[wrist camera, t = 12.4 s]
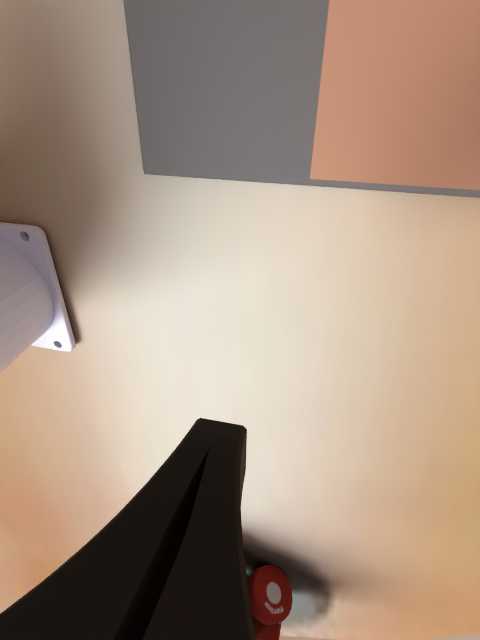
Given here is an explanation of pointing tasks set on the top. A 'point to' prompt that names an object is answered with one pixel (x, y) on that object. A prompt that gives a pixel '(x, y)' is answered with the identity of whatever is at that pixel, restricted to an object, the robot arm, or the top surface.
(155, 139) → the mat
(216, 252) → the top surface
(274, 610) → the toy fire truck
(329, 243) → the top surface
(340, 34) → the block
